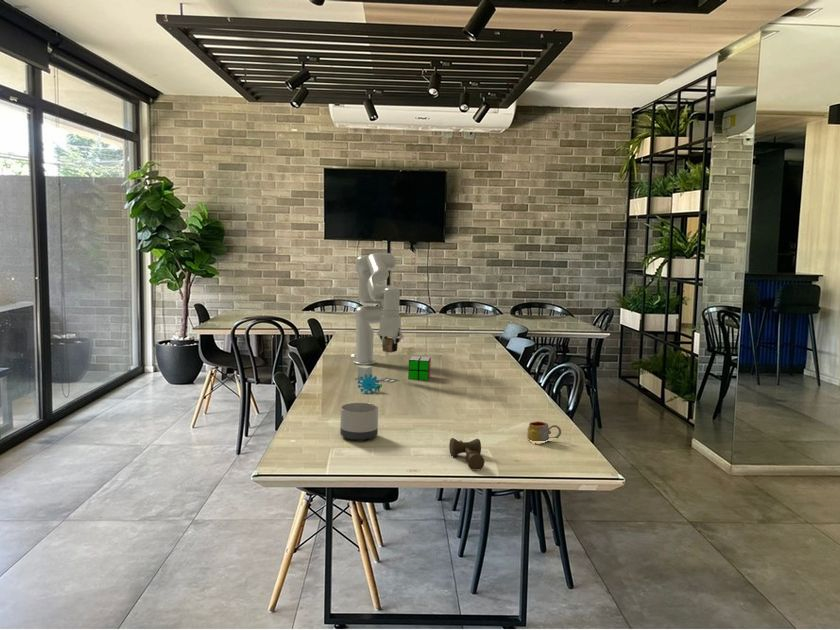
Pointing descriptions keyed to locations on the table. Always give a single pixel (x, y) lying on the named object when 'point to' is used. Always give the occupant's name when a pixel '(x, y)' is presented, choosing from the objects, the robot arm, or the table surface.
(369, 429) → the planter
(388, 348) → the walnut block
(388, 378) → the coaster
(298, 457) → the table surface
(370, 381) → the blue spiky virus model
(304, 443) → the table surface
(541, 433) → the mug
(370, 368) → the pale grey-green block
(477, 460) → the kendama
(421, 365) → the puzzle cube
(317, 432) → the table surface
